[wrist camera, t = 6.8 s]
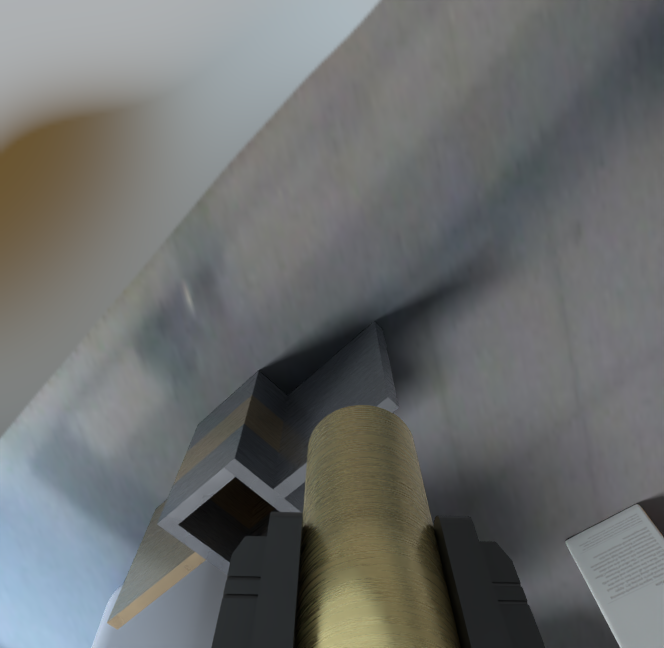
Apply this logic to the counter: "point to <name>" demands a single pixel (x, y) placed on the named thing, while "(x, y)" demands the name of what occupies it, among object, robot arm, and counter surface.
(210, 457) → the hinge
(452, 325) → the counter surface
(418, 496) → the hinge pin
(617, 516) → the small box
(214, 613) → the plastic bottle
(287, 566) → the robot arm
